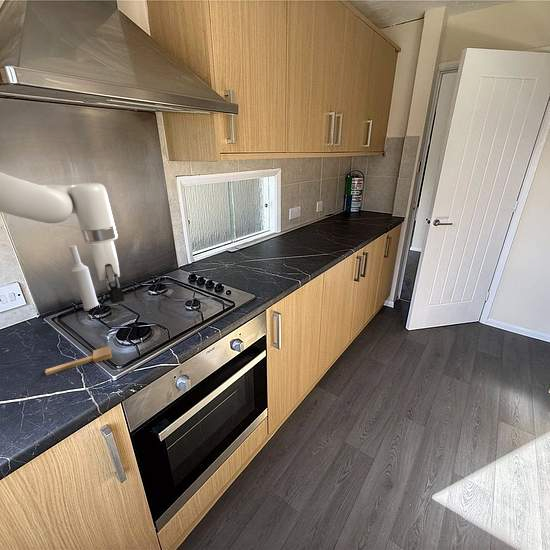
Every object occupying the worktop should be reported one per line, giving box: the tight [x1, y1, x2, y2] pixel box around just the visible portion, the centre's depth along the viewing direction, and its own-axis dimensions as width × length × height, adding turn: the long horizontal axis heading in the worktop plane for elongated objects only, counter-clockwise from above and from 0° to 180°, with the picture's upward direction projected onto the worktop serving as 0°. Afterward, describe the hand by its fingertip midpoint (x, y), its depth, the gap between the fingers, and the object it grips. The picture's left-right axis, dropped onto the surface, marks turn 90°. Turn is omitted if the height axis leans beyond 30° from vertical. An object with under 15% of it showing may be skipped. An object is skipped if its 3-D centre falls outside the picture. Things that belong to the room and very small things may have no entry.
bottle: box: [68, 244, 100, 312], centre depth 106 cm, size 5×5×25 cm
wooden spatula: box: [44, 345, 113, 376], centre depth 82 cm, size 16×4×2 cm, turn 120°
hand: (116, 295), depth 81 cm, fingers open, 7 cm apart
